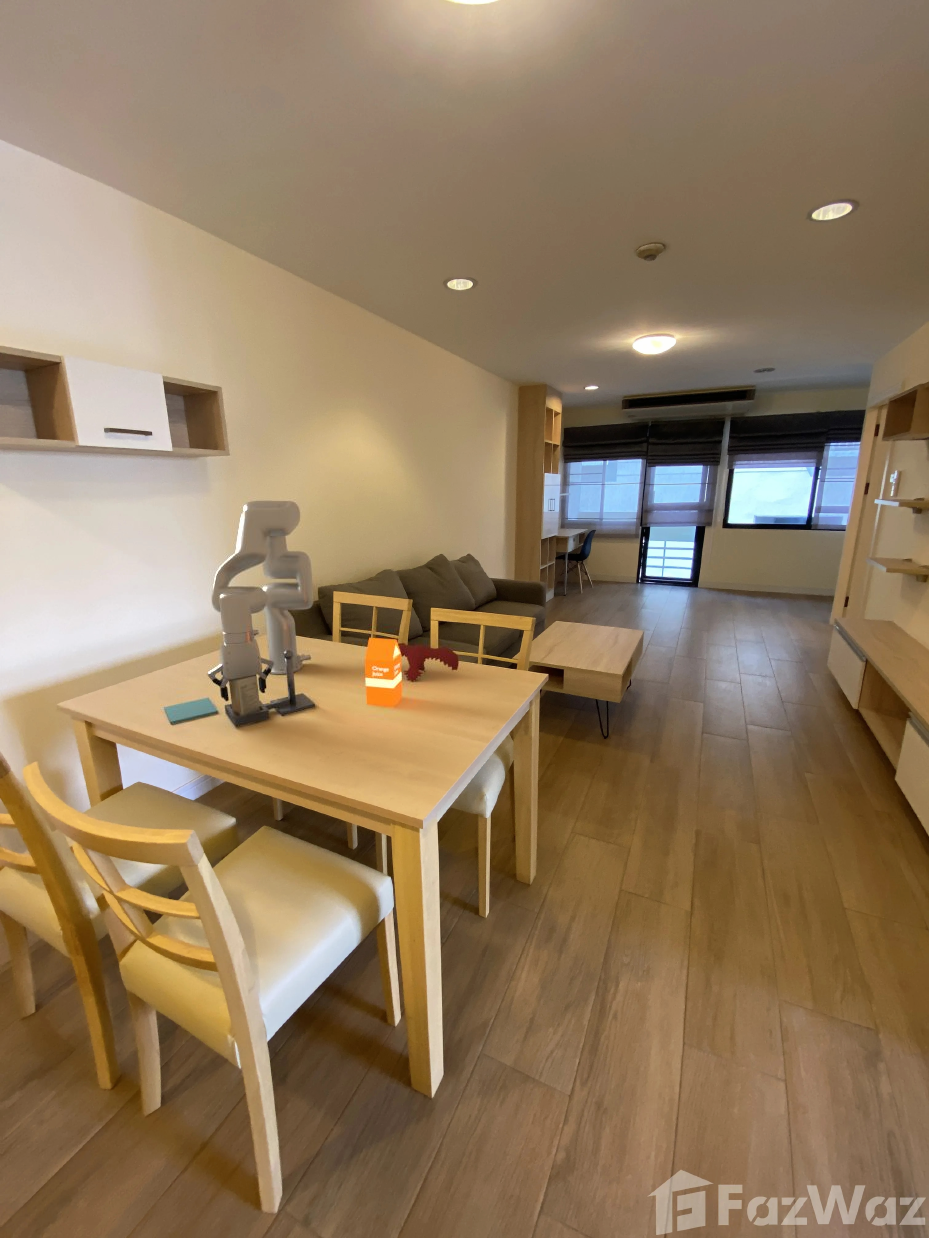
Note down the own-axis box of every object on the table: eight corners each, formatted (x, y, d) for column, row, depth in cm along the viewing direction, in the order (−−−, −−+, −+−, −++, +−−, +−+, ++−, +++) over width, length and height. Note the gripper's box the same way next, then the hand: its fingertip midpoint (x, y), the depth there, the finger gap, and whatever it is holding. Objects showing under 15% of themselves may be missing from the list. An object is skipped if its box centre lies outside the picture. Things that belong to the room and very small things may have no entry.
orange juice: (394, 707, 150) (392, 643, 145) (366, 704, 152) (363, 641, 147) (402, 696, 157) (400, 635, 152) (375, 694, 159) (373, 634, 154)
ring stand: (302, 696, 157) (298, 642, 153) (315, 707, 149) (311, 651, 144) (225, 714, 144) (218, 656, 139) (235, 728, 135) (228, 667, 131)
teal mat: (208, 699, 154) (208, 697, 154) (218, 713, 145) (217, 710, 145) (164, 709, 147) (163, 707, 147) (170, 724, 138) (170, 721, 137)
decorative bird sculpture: (455, 693, 171) (463, 653, 178) (448, 683, 164) (458, 642, 170) (380, 684, 179) (391, 646, 186) (370, 673, 171) (382, 635, 178)
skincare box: (251, 711, 146) (248, 671, 143) (261, 714, 144) (257, 674, 141) (231, 719, 141) (227, 678, 138) (241, 722, 138) (237, 681, 135)
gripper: (266, 629, 144) (271, 685, 148) (200, 638, 134) (207, 698, 138) (275, 634, 139) (280, 692, 143) (206, 645, 128) (214, 707, 132)
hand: (244, 695), depth 140 cm, fingers open, 9 cm apart
